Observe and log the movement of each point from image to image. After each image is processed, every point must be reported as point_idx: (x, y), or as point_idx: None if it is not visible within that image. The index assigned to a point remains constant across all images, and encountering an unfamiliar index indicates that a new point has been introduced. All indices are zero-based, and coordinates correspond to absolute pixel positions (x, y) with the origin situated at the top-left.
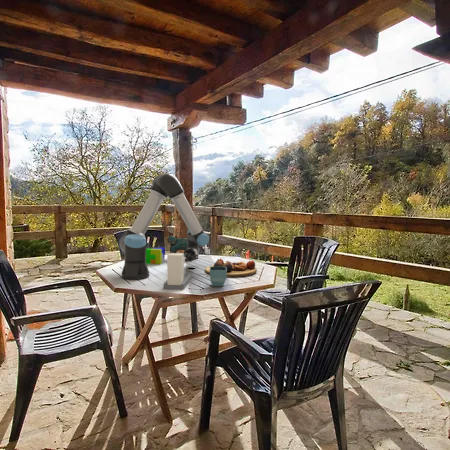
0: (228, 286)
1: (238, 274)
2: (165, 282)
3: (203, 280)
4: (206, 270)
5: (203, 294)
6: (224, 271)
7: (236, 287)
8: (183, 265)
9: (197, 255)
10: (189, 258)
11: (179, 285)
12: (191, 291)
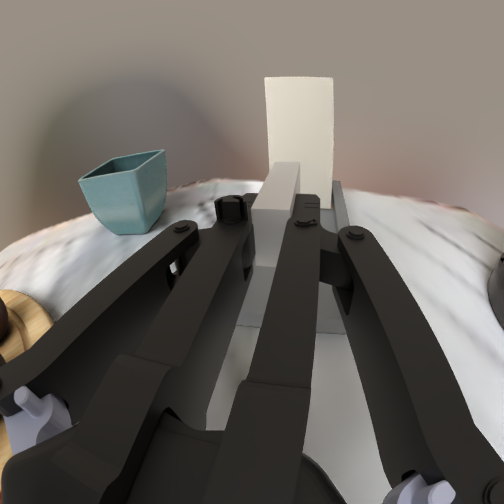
0: None
1: (2, 290)
2: (337, 185)
3: None
4: None
5: (213, 180)
6: (120, 160)
7: None
8: (268, 131)
9: (8, 371)
10: (204, 233)
11: None
12: (243, 189)
